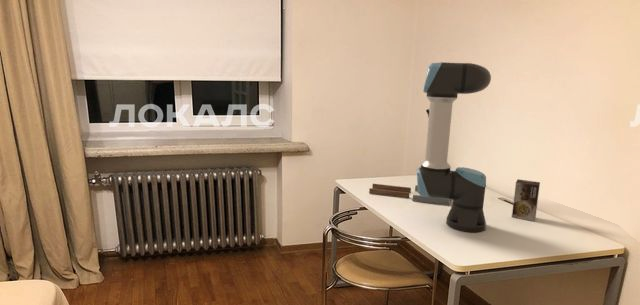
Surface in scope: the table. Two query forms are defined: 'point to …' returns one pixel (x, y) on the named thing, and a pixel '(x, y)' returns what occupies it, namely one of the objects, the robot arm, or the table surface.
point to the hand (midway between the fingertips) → (435, 141)
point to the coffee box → (525, 199)
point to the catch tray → (430, 199)
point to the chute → (390, 190)
